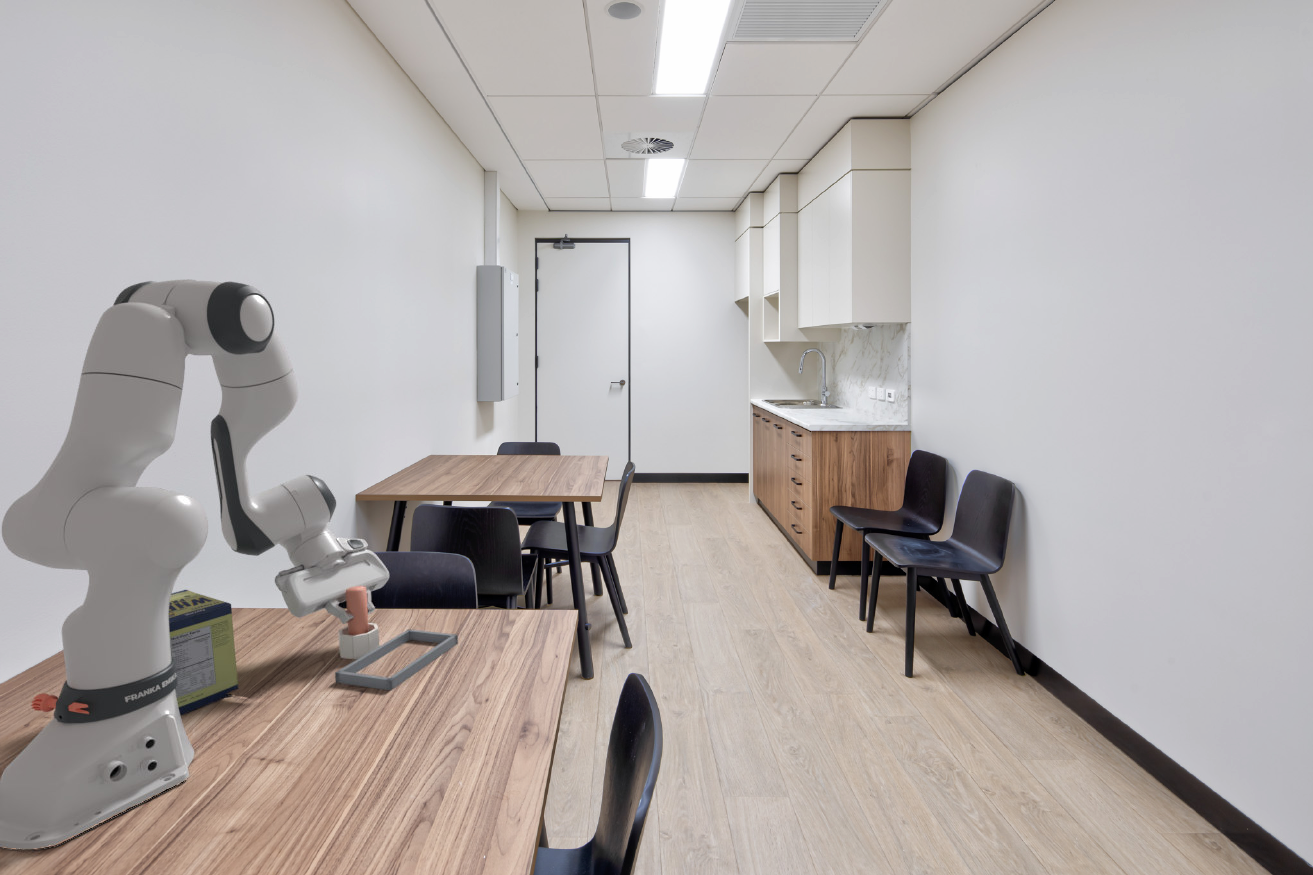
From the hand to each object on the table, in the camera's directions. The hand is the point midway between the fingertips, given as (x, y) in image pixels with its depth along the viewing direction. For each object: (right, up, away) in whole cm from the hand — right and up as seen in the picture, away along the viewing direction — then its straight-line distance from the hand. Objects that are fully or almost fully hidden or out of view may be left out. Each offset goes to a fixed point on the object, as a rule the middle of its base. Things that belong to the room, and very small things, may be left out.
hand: (360, 616), depth 130 cm
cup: (0, -8, +1) cm, 8 cm away
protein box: (-24, -10, -14) cm, 29 cm away
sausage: (0, -7, +1) cm, 7 cm away
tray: (+9, -8, -4) cm, 13 cm away
